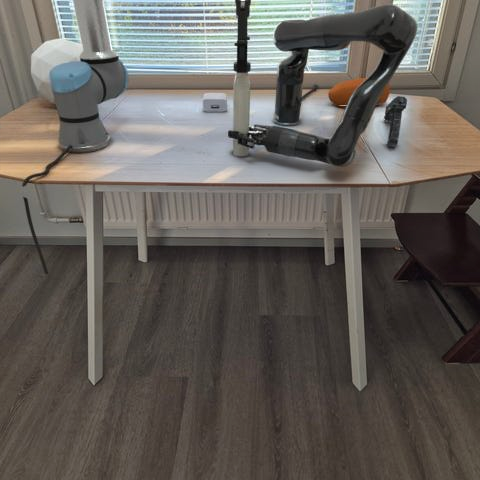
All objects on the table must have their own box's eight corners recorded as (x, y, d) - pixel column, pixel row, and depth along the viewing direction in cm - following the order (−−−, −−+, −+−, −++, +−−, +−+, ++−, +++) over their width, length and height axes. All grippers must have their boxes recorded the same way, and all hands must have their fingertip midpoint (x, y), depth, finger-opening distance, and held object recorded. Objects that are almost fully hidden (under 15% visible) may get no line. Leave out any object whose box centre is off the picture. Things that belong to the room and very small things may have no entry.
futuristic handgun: (389, 146, 153) (397, 104, 149) (399, 145, 125) (409, 94, 122) (379, 144, 154) (386, 103, 150) (386, 144, 126) (395, 93, 122)
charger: (226, 100, 170) (227, 111, 158) (204, 100, 170) (203, 111, 158) (226, 88, 168) (226, 99, 155) (204, 88, 167) (202, 99, 155)
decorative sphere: (41, 71, 170) (18, 23, 146) (103, 69, 174) (90, 22, 151) (41, 120, 163) (17, 77, 140) (106, 117, 167) (93, 75, 144)
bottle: (251, 153, 125) (254, 65, 110) (240, 157, 122) (241, 68, 108) (241, 149, 127) (242, 63, 113) (229, 153, 125) (229, 65, 110)
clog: (332, 114, 163) (392, 106, 164) (333, 87, 157) (396, 78, 158) (323, 105, 173) (381, 98, 174) (324, 79, 167) (383, 71, 167)
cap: (253, 70, 111) (254, 63, 110) (241, 73, 108) (241, 65, 107) (242, 67, 114) (243, 60, 113) (230, 70, 111) (230, 62, 110)
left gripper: (229, -33, 106) (229, 61, 119) (226, -32, 90) (226, 77, 103) (258, -33, 106) (255, 62, 119) (260, -31, 90) (256, 78, 103)
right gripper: (296, 121, 118) (244, 112, 125) (275, 136, 108) (220, 125, 115) (293, 146, 123) (244, 135, 129) (273, 163, 112) (220, 150, 119)
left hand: (242, 69), depth 111 cm, fingers open, 7 cm apart
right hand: (233, 130), depth 122 cm, fingers closed on bottle, 4 cm apart
